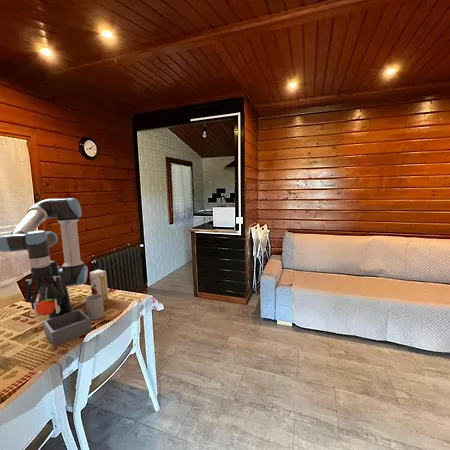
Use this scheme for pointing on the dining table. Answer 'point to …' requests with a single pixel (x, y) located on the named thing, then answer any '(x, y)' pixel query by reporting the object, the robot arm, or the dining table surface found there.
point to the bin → (67, 327)
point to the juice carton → (99, 283)
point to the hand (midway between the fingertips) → (48, 313)
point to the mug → (94, 306)
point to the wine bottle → (65, 300)
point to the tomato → (46, 307)
